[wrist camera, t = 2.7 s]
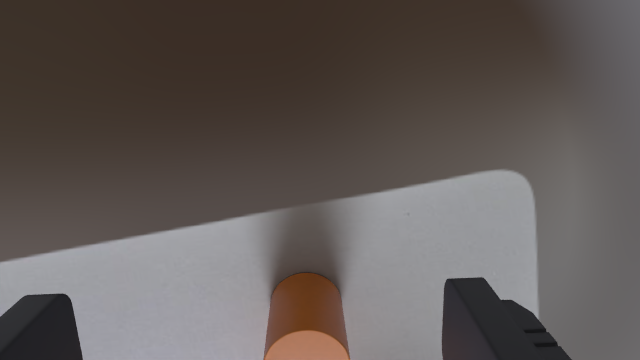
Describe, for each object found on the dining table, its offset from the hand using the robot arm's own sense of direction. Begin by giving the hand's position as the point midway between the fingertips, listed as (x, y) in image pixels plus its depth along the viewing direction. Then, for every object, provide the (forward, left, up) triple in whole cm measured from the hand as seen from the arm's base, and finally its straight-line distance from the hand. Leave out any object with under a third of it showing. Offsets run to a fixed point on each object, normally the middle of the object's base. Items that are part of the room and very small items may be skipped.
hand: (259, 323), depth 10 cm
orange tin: (0, +13, -22) cm, 25 cm away
